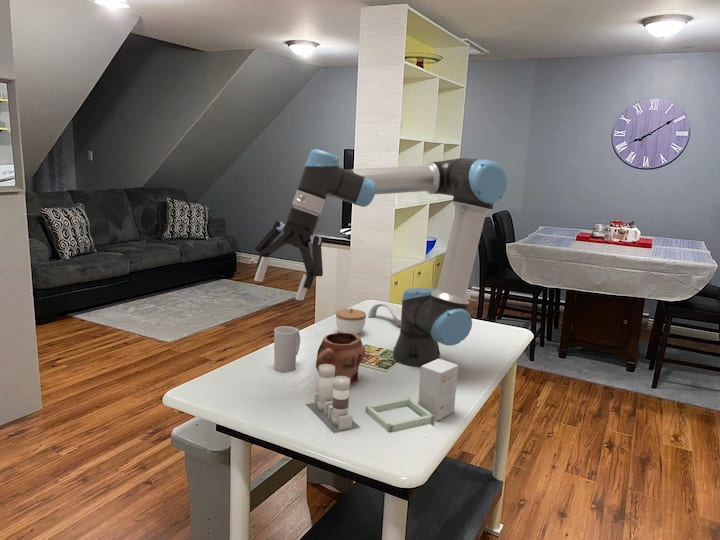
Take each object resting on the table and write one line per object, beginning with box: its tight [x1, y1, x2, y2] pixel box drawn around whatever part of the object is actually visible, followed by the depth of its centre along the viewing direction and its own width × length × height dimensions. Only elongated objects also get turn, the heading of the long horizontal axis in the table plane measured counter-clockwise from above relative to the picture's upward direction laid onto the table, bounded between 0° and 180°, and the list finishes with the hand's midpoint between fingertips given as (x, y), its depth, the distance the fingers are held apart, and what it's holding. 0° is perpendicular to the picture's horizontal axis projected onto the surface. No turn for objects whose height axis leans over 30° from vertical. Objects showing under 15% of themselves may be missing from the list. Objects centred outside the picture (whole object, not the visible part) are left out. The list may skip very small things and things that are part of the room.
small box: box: [417, 358, 459, 422], centre depth 144 cm, size 8×6×13 cm
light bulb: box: [331, 376, 351, 426], centre depth 133 cm, size 4×4×11 cm
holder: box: [305, 364, 361, 434], centre depth 137 cm, size 7×16×12 cm, turn 29°
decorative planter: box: [315, 331, 366, 384], centre depth 158 cm, size 20×12×14 cm, turn 152°
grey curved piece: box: [367, 301, 402, 328], centre depth 218 cm, size 24×12×7 cm, turn 55°
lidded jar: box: [335, 307, 367, 335], centre depth 202 cm, size 11×11×9 cm
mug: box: [273, 325, 301, 373], centre depth 169 cm, size 10×7×12 cm, turn 147°
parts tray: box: [365, 397, 435, 433], centre depth 139 cm, size 13×11×3 cm
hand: (278, 290), depth 144 cm, fingers open, 13 cm apart
